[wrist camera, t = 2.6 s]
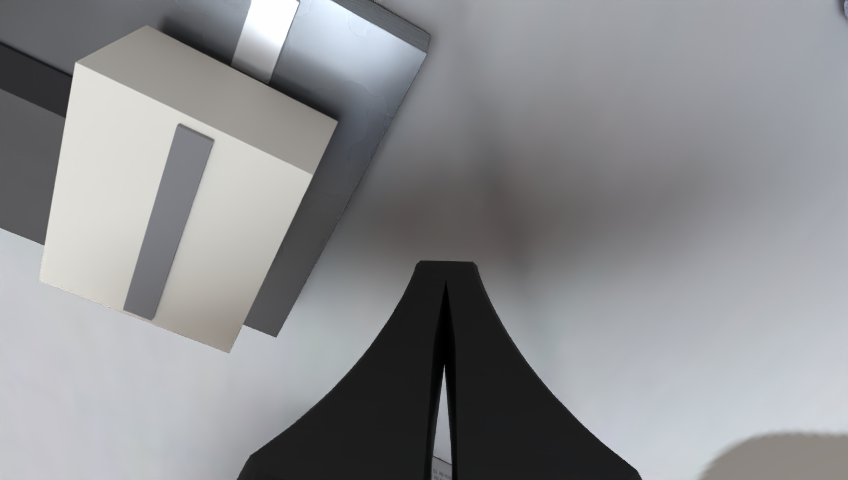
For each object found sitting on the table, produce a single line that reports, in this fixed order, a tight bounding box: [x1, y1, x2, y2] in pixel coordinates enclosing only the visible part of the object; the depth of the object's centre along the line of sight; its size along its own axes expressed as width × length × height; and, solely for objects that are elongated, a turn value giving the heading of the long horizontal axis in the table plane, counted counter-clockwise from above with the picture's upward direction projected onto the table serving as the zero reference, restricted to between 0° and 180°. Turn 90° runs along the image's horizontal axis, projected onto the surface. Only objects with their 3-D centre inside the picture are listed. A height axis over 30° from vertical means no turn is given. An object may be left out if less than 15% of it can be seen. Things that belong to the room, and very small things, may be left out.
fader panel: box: [0, 0, 430, 337], centre depth 12 cm, size 16×9×2 cm, turn 62°
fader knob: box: [39, 25, 338, 353], centre depth 11 cm, size 4×5×2 cm
